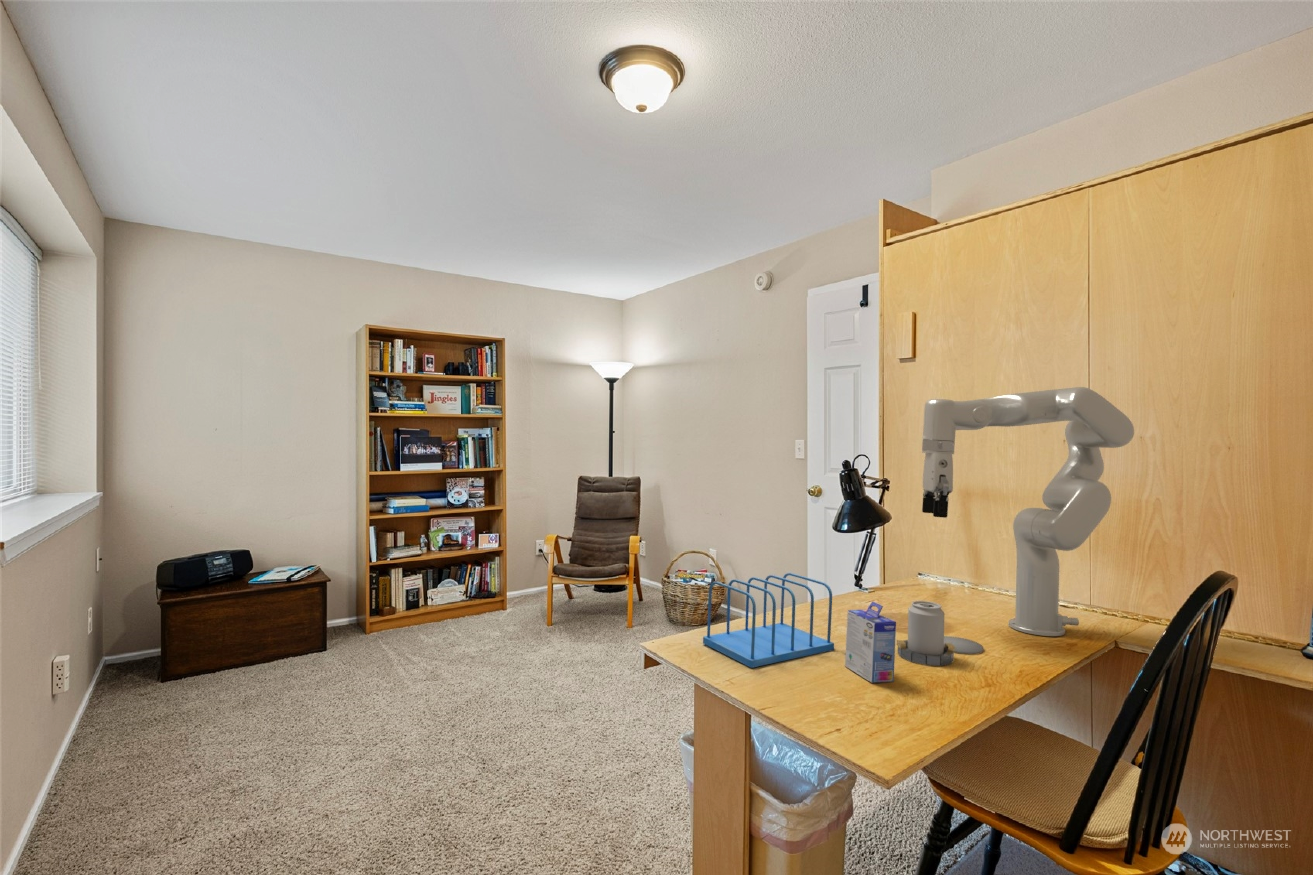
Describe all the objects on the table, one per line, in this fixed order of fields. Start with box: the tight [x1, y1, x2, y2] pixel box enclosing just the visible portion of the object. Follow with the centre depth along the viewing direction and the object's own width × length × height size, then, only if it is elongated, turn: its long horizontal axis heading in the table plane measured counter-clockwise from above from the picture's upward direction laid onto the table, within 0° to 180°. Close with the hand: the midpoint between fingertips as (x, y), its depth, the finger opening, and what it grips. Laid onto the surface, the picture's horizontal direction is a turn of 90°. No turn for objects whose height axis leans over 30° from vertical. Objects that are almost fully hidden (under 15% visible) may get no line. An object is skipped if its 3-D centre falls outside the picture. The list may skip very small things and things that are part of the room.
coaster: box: [944, 635, 984, 655], centre depth 147 cm, size 11×11×1 cm
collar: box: [896, 639, 955, 667], centre depth 139 cm, size 12×11×3 cm
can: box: [907, 600, 945, 655], centre depth 139 cm, size 8×8×12 cm
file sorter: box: [702, 572, 835, 668], centre depth 144 cm, size 25×17×15 cm
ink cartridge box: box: [844, 601, 897, 684], centre depth 128 cm, size 10×6×14 cm, turn 16°
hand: (934, 514), depth 158 cm, fingers open, 9 cm apart
